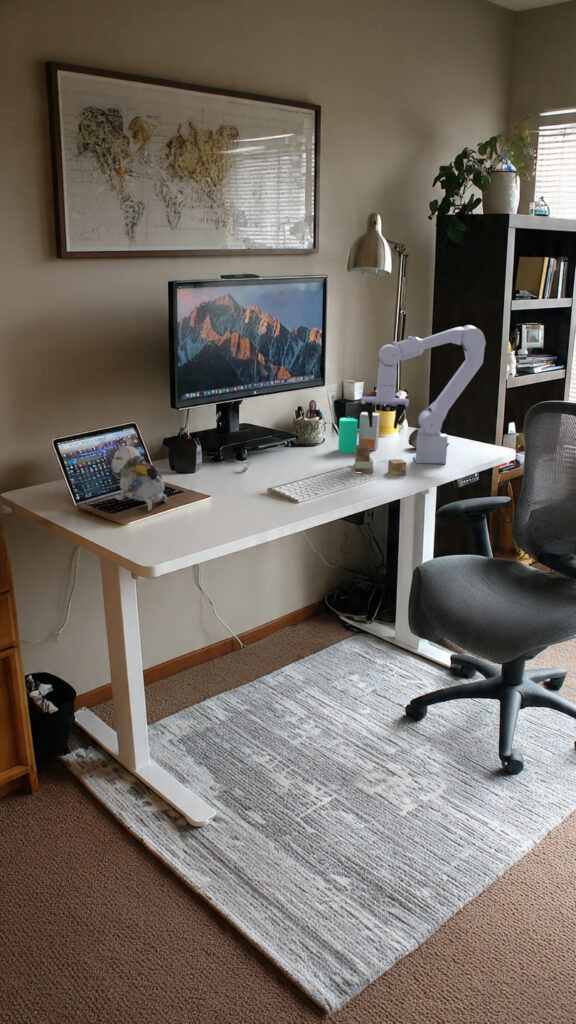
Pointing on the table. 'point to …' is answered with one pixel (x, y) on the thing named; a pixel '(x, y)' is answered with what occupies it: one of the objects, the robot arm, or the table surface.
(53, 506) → the table surface
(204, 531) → the table surface
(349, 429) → the candle
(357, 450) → the walnut cube
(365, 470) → the slab bottom
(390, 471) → the oak cube
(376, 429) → the skincare box
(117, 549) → the table surface
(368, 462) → the slab top
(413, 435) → the bison figurine
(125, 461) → the robotic toy
